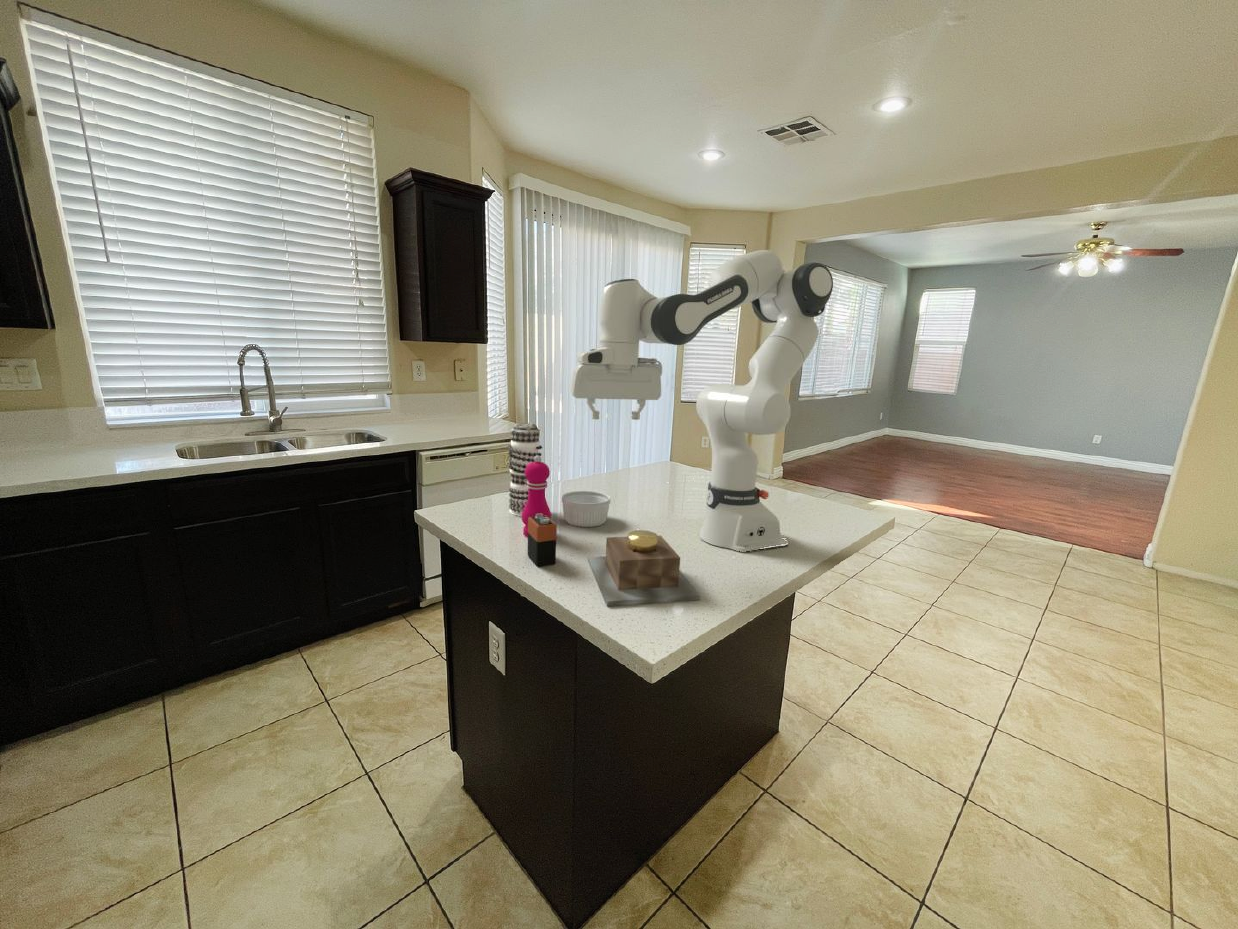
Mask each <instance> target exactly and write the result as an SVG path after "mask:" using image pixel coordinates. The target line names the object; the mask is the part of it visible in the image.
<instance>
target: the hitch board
mask: <svg viewBox="0 0 1238 929" xmlns="http://www.w3.org/2000/svg"><path fill="white" fill-rule="evenodd" d="M627 543H628V536H613V537H611V536H610V537H609V536H607V537H606V543H605V555H604V556H589V557H587V562H588V564H589V567H590V569H591V572H592V574H593V577H594V579H595V581H596V584H597V586H598V588H599V591H600V593H601V595H602V597H603V601H604V602H605V605H606V607H617V606H618V607H619V606H633V605H647V604H649V605H650V604H661V603H664V604H665V603H676V602H687V601H701V594H700V593H699V592H698V590H697V589H696V588H695V587H694V586H693V585H692V583H691V582H690V581H689V579H688V578H687V577H686V576H685V574H683V572H682V571H681V570H680V568H681V556H680V555H678V553H677V552H676V550H674V549H673V547H672V546H671V545H670V544H669V543H668V542H667V541H666V539H665V538H664V537H663V536H662V535H658V542H657V550H656V551H654V552H651V553H639V552H633V551H632V550H630V549H628V547H627Z"/></svg>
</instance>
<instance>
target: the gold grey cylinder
mask: <svg viewBox="0 0 1238 929" xmlns="http://www.w3.org/2000/svg"><path fill="white" fill-rule="evenodd" d="M658 536H659V535H658V534H657V533H655V532H653V531H650V530H645V529H644V530H643V529H638V530H636V529H635V530H632V531H629V532H628V533H627V537H628V543H627V547H628V549H630V550H632V551H633V552H639V553H651V552H654V551H656V550H657V542H658Z"/></svg>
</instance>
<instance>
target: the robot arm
mask: <svg viewBox="0 0 1238 929" xmlns="http://www.w3.org/2000/svg"><path fill="white" fill-rule="evenodd" d="M833 288H834V279H833V275H832V272H831V271H830V269H829V268H828V267H827V266H826V265H825V264H823V263H821V262H808V263H804V264H802V265H800V266H799V267H795V268H793V269H790V270H788V271H786V270H784V269H783V264H782V261H781V258H780V257H779V255H778V254H777V253H775V252H774V251H772V250H770V249H760V250H756V251H755V250H754V251H751V252H747V253H744V254H741V255H738V256H737V257H734V258H732V259H729V260H727V261H725V262H724V263H722V264H721V265H719V266H718V267H716V268H715V269H714V270H713V271H712V272H711V273H710V275H709V279H708V287H707V288H705V289H703V290H701V291H700V292H698V293H696V294H685V293H677V294H673V295H669V296H665V297H664V296H663V297H657V296H655V295H653V293H650V292H649V291H647V289H645V287H644V286H642V285H641V283H640V281H639V280H638V279H635V278H625V279H623V278H622V279H618V280H611V281H609V282H607V284H605V286H603V289H602V292H601V298H600V305H599V306H600V308H599V309H600V310H599V311H600V312H599V325H600V335H599V338H598V347H597V348H592V349H590V350H588V351H587V350H586V351H583V352H580V353H578V354H577V362H578V363H579V364H577V365H576V366H575V367H574V370H573V373H572V377H571V386H570V387H571V388H570V393H571V396H572V397H573V398H576V399H586V404H587V406H588V407H589V410H590V411H591V412H590V414H591V415H590V418H591V420H600V411H599V410H596V409H595V407H594V404H595V403H596V400H633V401H634V400H636V404H637V407H636V408H635V410H633V411H631V420H632V421H633V420H634V421H636V420H637V421H639V420H640V418H641V413H642V410H644V408H645V406H646V401H658V400H659V399H660V398H661V396H662V380H661V378H662V375H663V364H662V363H661V361H659V360H658V359H657V358H647V357H639V355H640V354H639V352H640V350H639V349H640V341H641V342H643V343H647V344H668V345H674V346H682V345H686V344H688V343H689V342H691V341H692V340H694V339H695V337H696V336H697V335H698V334H699V333H700V332H701V330H702V329H703V328H704V327H705V326H706V325H707V324H708V323H710V322H711V321H713V320H715V319H716V318H718V317H720V316H721V315H723V314H725V313H727V312H729V311H731V310H734V309H739V308H740V307H744V306H746V305H748V304H749V303H751V306H752V309H753V312H754V314H755V316H756V317H757V318H758V320H760V321H761V322H763V323H766V324H774V323H775V324H776V325H775V327H774V329H773V331H771V333H770V334H769V336H767V338H766V339H765V340H764V341H763V343H762V344H761V346H760V347H759V348H758V349H757V350H756V351H755V353H754V354H753V356H752V357H751V358H750V360H749V363H748V372H749V373H748V374H749V376H750V378H751V379H750V381H749V382H748V383H747V384H746V383H745V384H744V385H738V384H729V383H721V384H713V385H709V386H706V387H704V388H703V389H702V390H701V391H700V392H699V394H698V396H697V398H696V405H695V407H696V414H697V416H698V417H699V419H700V420H701V421H702V422H703V423H702V424H704V426H705V428H706V430H707V434H708V437H709V440H710V441H709V442H710V447H711V470H710V471H711V472H710V482H708V485H707V492H706V511H705V515H704V517H703V518H704V519H703V522H702V524H701V528H700V531H699V532H698V536H699V538H700V539H701V540H702V541H704V542H706V543H707V544H709V545H712V546H713V545H714V546H716V547H720V548H725V549H730V550H734V551H736V552H739V551H740V552H739V553H747V552H746V551H750V552H752V551H751V550H756V549H760V548H764V547H769V546H776V545H781V544H786V543H788V544H789V540H788V538H787V537H786V536H785V535H784V534H783V535H781V534H782V532H781V524H780V520H779V518H778V517H777V516H776V515H775V514H774V513H773V512H772V511H771V510H770V509H769V508H768V507H767V506H765V505H764V503H762V502H761V499H763V500H768V498H769V497H770V493H769V492H768V491H766V490H765V489H760V488H759V487H757V486H756V483H757V482H756V481H757V475H758V474H757V473H758V466H759V464H758V463H759V459H758V458H759V457H758V455H757V453H756V452H755V450H754V449H753V448H752V447H751V446H750V444H749V441H748V440H747V439H748V438H747V435H746V434H750V435H755V436H765V435H768V436H769V435H777V434H779V433H780V432H782V431H783V430H784V429H785V428H786V426H787V425H788V423H789V421H790V419H791V403H790V401H789V398H788V397H787V396H786V392H787V388H788V386H789V384H790V382H791V381H792V380H793V378H794V377H795V375H796V374H797V372H798V371H799V370H800V368H801V367H802V366H803V364H804V363H805V362H806V361H807V358H808V357H809V355H810V354H811V352H812V350H813V349H814V346H815V345H816V342H817V340H818V338H819V333H820V332H819V331H820V330H819V327H818V325H817V322H816V321H815V318H816V317H818V316H820V315H822V313H824V311H825V308H826V304H827V303H828V302H829V300H830V298H831V296H832V292H833ZM782 538H786V539H785V540H788V541H785V540H784V539H782Z"/></svg>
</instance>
